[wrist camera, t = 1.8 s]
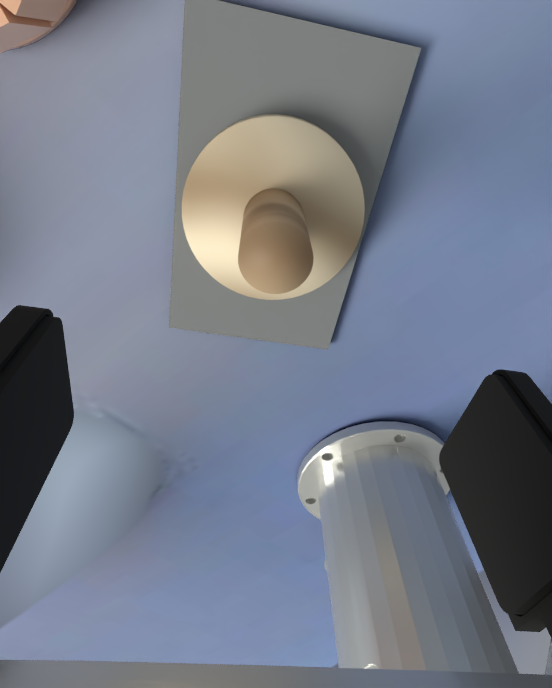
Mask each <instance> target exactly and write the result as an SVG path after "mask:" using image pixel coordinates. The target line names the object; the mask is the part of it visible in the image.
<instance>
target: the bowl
mask: <svg viewBox="0 0 552 688" xmlns="http://www.w3.org/2000/svg"><path fill="white" fill-rule="evenodd" d="M76 2H77V0H0V53H2V52H4V51H7V50H11V49H16V48H21V47H24V46H27V45H29V44H32V43H35V42H37V41H38V40H40V39H42V38H43V37H45V36H47V35H48V34H50V33H51V32H52V31H53V30H54V29H55V28H57V27H58V26H59V25H60V24H61V23H62V22H63V21H64V19H65V18H66V17H67V16H68V14H69V13H70V12H71V11H72V9H73V8H74V6H75V4H76Z"/></svg>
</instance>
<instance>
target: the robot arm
mask: <svg viewBox="0 0 552 688" xmlns="http://www.w3.org/2000/svg"><path fill="white" fill-rule="evenodd" d="M73 418H74V410H73V402H72V394H71V387H70V379H69V371H68V363H67V356H66V348H65V340H64V333H63V325H62V321H61V319H60V318H57V317H53V313H52V312H51V310H49V309H44V308H36V307H29V306H21V305H19V306H16V307H15V308H13V309H12V310H11V312H10V313H9V314H8V315H7V316H6V317H5V318H4V319H3V320H2V321H1V322H0V572H1V570H2V568H3V566H4V564H5V562H6V560H7V558H8V556H9V553H10V552H11V550H12V548H13V546H14V544H15V542H16V539H17V537H18V535H19V533H20V531H21V529H22V527H23V525H24V523H25V521H26V519H27V517H28V515H29V513H30V511H31V509H32V507H33V505H34V502H35V501H36V499H37V497H38V495H39V493H40V491H41V488H42V486H43V484H44V482H45V480H46V478H47V476H48V474H49V472H50V470H51V468H52V466H53V464H54V462H55V460H56V458H57V456H58V454H59V452H60V450H61V448H62V446H63V444H64V442H65V440H66V438H67V435H68V433H69V431H70V429H71V426H72V423H73ZM297 482H298V493H299V497H300V500H301V502H302V503H303V505H304V507H305V508H306V509H307V510H308V511H309V512H310V513H311V514H312V515H314V516H315V517H317V518H318V519H320V520H321V524H322V533H323V541H324V549H325V557H326V559H325V561H324V566H325V569H326V571H327V573H328V582H329V590H330V598H331V606H332V614H333V623H334V631H335V639H336V647H337V655H338V664H339V668H328V667H295V666H262V665H225V664H186V663H148V662H110V661H54V660H0V688H552V404H551V403H550V402H549V400H548V399H547V398H546V397H545V395H544V394H543V393H542V392H541V390H540V389H539V388H538V387H537V386H536V384H535V383H534V382H533V381H532V379H531V378H530V377H529V376H528V375H527V374H526V373H523V372H516V371H508V370H496V371H495V372H493V373H492V375H488V376H487V377H486V378H485V379H484V380H483V382H482V384H481V385H480V387H479V389H478V390H477V392H476V393H475V395H474V397H473V398H472V400H471V402H470V403H469V405H468V407H467V408H466V410H465V411H464V413H463V415H462V416H461V418H460V420H459V421H458V423H457V425H456V426H455V428H454V429H453V431H452V433H451V434H450V436H449V438H448V439H447V441H446V443H444V442H443V441H442V440H441V439H440V438H439V437H438V436H437V435H435V434H434V433H432V432H430V431H428V430H426V429H425V428H422V427H419V426H416V425H413V424H408V423H402V422H384V421H379V422H371V423H364V424H360V425H356V426H352V427H348V428H346V429H344V430H341V431H339V432H336V433H334V434H332V435H331V436H329V437H327V438H325V439H324V440H322V441H321V442H319V443H318V444H317V445H316V446H315V447H314V448H312V449H311V450H310V452H309V453H308V454H307V455H306V457H305V458H304V459H303V461H302V463H301V465H300V467H299V471H298V476H297ZM450 490H451V492H452V495H453V497H454V500H455V502H456V504H457V507H458V509H459V511H460V514H461V516H462V518H463V521H464V523H465V525H466V528H467V530H468V532H469V535H470V537H471V540H472V542H473V544H474V547H475V549H476V551H477V554H478V556H479V558H480V561H481V563H482V565H483V568H484V570H485V572H486V575H487V577H488V580H489V582H490V584H491V586H492V589H493V591H494V594H495V596H496V598H497V601H498V603H499V605H500V607H501V608H502V609H503V610H504V611H505V612H506V613H508V615H509V617H510V620H511V622H512V624H513V626H514V629H515V630H516V631H531V632H540V631H542V630H543V629H544V628H545V627H546V628H547V630H548V632H549V634H550V636H551V642H550V648H549V653H548V659H547V665H546V670H545V675H537V674H535V675H534V674H519V672H518V670H517V667H516V665H515V662H514V660H513V657H512V655H511V653H510V650H509V648H508V645H507V643H506V641H505V638H504V636H503V633H502V631H501V628H500V626H499V623H498V621H497V619H496V616H495V614H494V611H493V609H492V607H491V604H490V602H489V599H488V597H487V594H486V592H485V590H484V587H483V585H482V582H481V580H480V578H479V575H478V573H477V570H476V568H475V565H474V563H473V560H472V558H471V556H470V553H469V551H468V548H467V546H466V543H465V541H464V539H463V536H462V534H461V531H460V529H459V526H458V524H457V522H456V519H455V517H454V514H453V512H452V509H451V507H450V505H449V502H448V500H447V497H446V495H447V494H448V492H449V491H450Z"/></svg>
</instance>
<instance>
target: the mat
mask: <svg viewBox="0 0 552 688" xmlns="http://www.w3.org/2000/svg"><path fill="white" fill-rule="evenodd" d="M420 51H421V48H419V47H415V46H411V45H406V44H402V43H398V42H394V41H389V40H385V39H381V38H377V37H372V36H368V35H364V34H360V33H355V32H351V31H347V30H343V29H338V28H334V27H330V26H326V25H321V24H317V23H313V22H309V21H304V20H300V19H296V18H291V17H287V16H283V15H279V14H274V13H270V12H266V11H262V10H257V9H253V8H249V7H245V6H240V5H236V4H232V3H228V2H223V1H219V0H185V7H184V28H183V49H182V70H181V91H180V111H179V132H178V153H177V174H176V195H175V216H174V237H173V258H172V279H171V299H170V320H169V328H176V329H183V330H191V331H198V332H205V333H212V334H220V335H227V336H234V337H241V338H248V339H256V340H263V341H270V342H277V343H284V344H292V345H299V346H306V347H313V348H321V349H328V348H329V345H330V342H331V339H332V335H333V332H334V329H335V326H336V322H337V319H338V316H339V313H340V310H341V306H342V303H343V300H344V297H345V293H346V290H347V287H348V284H349V280H350V277H351V274H352V271H353V267H354V264H355V261H356V258H357V255H358V251H359V248H360V245H361V242H362V238H363V235H364V232H365V229H366V225H367V222H368V219H369V216H370V213H371V209H372V206H373V203H374V200H375V196H376V193H377V190H378V187H379V183H380V180H381V177H382V174H383V171H384V167H385V164H386V161H387V158H388V154H389V151H390V148H391V145H392V141H393V138H394V135H395V132H396V129H397V125H398V122H399V119H400V116H401V112H402V109H403V106H404V103H405V99H406V96H407V93H408V90H409V87H410V83H411V80H412V77H413V74H414V70H415V67H416V64H417V61H418V57H419V54H420ZM263 114H282V115H290V116H294V117H297V118H301V119H304V120H306V121H308V122H310V123H313V124H315V125H316V126H318V127H319V128H321V129H322V130H324V131H325V132H327V133H328V134H329V135H330V136H331V137H332V138H333V139H335V141H336V142H337V143H338V144H339V145H340V146H341V147H342V149H343V150H344V151H345V152H346V153H347V155H348V157H349V158H350V160H351V161H352V163H353V164H354V166H355V169H356V171H357V173H358V175H359V178H360V181H361V185H362V188H363V194H364V205H365V213H364V223H363V227H362V232H361V236H360V238H359V241H358V244H357V246H356V248H355V250H354V252H353V254H352V256H351V257H350V258H349V260H348V261H347V263H346V264H345V266H344V267H343V268H342V269H341V270H340V271H339V272H338V273H337V274H336V275H335V276H334V277H333V278H332V279H331V280H329V281H328V282H326V283H325V284H324V285H322V286H321V287H319V288H317V289H315V290H313V291H311V292H309V293H306V294H304V295H301V296H297V297H293V298H288V299H281V300H265V299H257V298H252V297H248V296H245V295H242V294H239V293H237V292H235V291H233V290H231V289H229V288H227V287H225V286H224V285H222V284H221V283H219V282H218V281H217V280H215V279H214V278H213V277H212V276H211V275H210V274H209V273H208V272H207V271H206V270H205V269H204V268H203V267H202V265H201V264H200V263H199V261H198V260H197V259H196V257H195V255H194V254H193V252H192V250H191V248H190V246H189V243H188V241H187V238H186V235H185V231H184V227H183V220H182V197H183V191H184V187H185V183H186V179H187V177H188V174H189V172H190V170H191V167H192V166H193V164H194V162H195V161H196V159H197V157H198V156H199V154H200V153H201V151H202V150H203V149H204V147H205V146H206V145H207V144H208V142H209V141H210V140H212V139H213V138H214V137H215V136H216V135H217V134H218V133H219V132H221V131H222V130H224V129H225V128H226V127H228V126H230V125H232V124H234V123H236V122H238V121H240V120H243V119H246V118H249V117H252V116H257V115H263Z"/></svg>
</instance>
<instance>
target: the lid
mask: <svg viewBox="0 0 552 688" xmlns="http://www.w3.org/2000/svg"><path fill="white" fill-rule="evenodd" d="M364 213H365V205H364V194H363V188H362V185H361V181H360V178H359V175H358V173H357V171H356V169H355V166H354V164H353V163H352V161H351V160H350V158H349V157H348V155H347V153H346V152H345V151H344V150H343V149H342V147H341V146H340V145H339V144H338V143H337V142H336V141H335V139H333V138H332V137H331V136H330V135H329V134H328V133H327V132H325V131H324V130H322V129H321V128H319V127H318V126H316V125H315V124H313V123H310V122H308V121H306V120H304V119H301V118H297V117H294V116H290V115H282V114H263V115H257V116H252V117H249V118H246V119H243V120H240V121H238V122H236V123H234V124H232V125H230V126H228V127H226V128H225V129H224V130H222V131H221V132H219V133H218V134H217V135H216V136H215V137H214V138H213V139H212V140H210V141H209V142H208V144H207V145H206V146H205V147H204V149H203V150H202V151H201V153H200V154H199V156H198V157H197V159H196V161H195V162H194V164H193V166H192V167H191V170H190V172H189V174H188V177H187V179H186V183H185V187H184V191H183V197H182V220H183V227H184V231H185V235H186V238H187V241H188V243H189V246H190V248H191V250H192V252H193V254H194V255H195V257H196V259H197V260H198V261H199V263H200V264H201V265H202V267H203V268H204V269H205V270H206V271H207V272H208V273H209V274H210V275H211V276H212V277H213V278H214V279H215V280H217V281H218V282H219V283H221V284H222V285H224V286H225V287H227V288H229V289H231V290H233V291H235V292H237V293H239V294H242V295H245V296H248V297H252V298H257V299H265V300H281V299H288V298H293V297H297V296H301V295H304V294H306V293H309V292H311V291H313V290H315V289H317V288H319V287H321V286H322V285H324V284H325V283H326V282H328V281H329V280H331V279H332V278H333V277H334V276H335V275H336V274H337V273H338V272H339V271H340V270H341V269H342V268H343V267H344V266H345V264H346V263H347V261H348V260H349V258H350V257H351V256H352V254H353V252H354V250H355V248H356V246H357V244H358V241H359V238H360V236H361V232H362V227H363V223H364Z"/></svg>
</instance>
